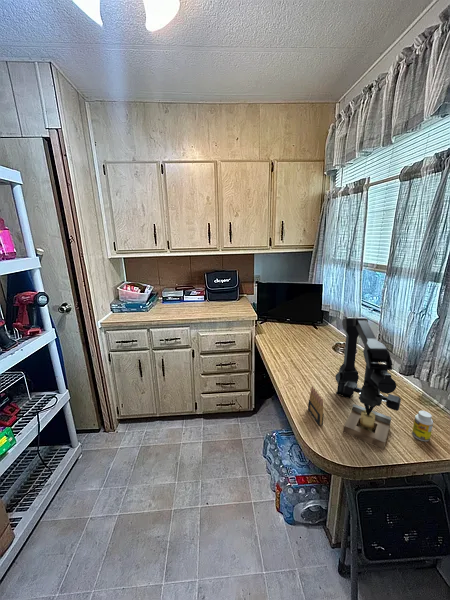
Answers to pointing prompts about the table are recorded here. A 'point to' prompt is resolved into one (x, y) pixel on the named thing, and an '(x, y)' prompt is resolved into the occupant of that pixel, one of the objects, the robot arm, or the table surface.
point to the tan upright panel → (316, 406)
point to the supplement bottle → (422, 426)
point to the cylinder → (367, 421)
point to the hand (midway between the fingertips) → (368, 414)
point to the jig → (375, 438)
